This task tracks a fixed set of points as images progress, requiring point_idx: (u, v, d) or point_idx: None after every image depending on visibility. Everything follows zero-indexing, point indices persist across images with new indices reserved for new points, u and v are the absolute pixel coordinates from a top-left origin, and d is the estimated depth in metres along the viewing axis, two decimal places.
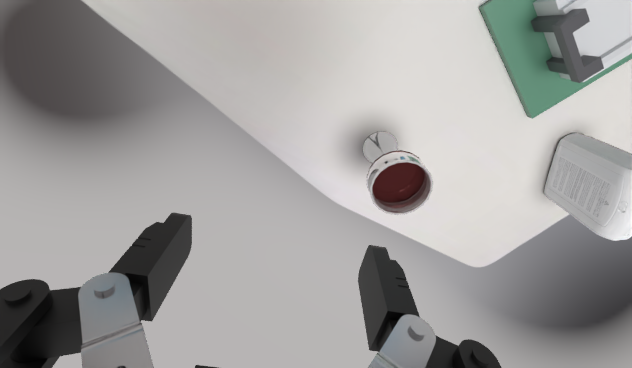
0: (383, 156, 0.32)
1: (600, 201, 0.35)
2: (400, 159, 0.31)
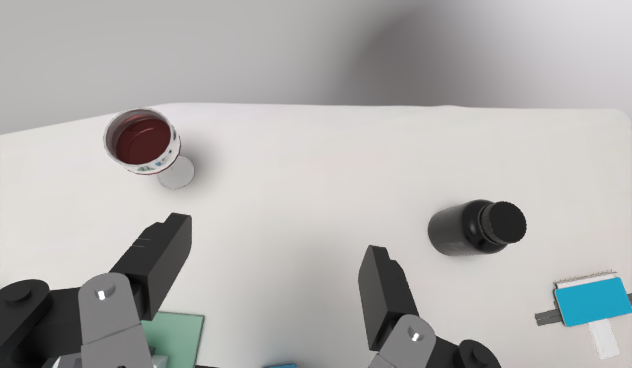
0: (178, 152, 0.33)
1: None
2: (163, 158, 0.31)
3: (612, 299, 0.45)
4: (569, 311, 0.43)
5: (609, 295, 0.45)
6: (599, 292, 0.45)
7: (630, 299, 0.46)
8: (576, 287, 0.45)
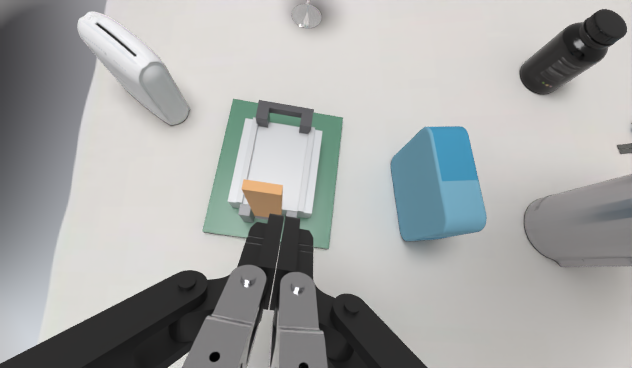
0: None
1: None
2: None
3: None
4: None
5: None
6: None
7: None
8: None
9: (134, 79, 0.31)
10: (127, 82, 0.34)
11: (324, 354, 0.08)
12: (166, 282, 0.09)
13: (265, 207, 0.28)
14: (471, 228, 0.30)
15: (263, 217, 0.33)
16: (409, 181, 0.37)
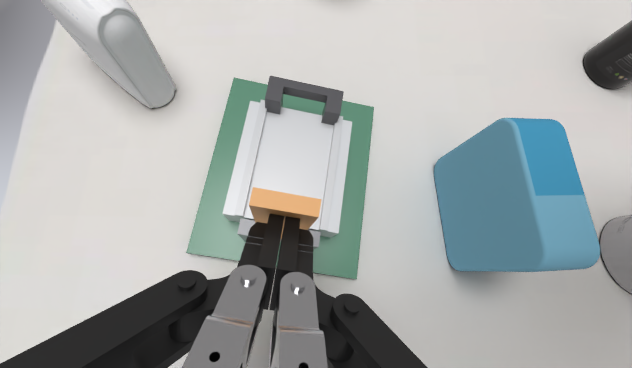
0: None
1: None
2: None
3: None
4: None
5: None
6: None
7: None
8: None
9: (90, 33, 0.21)
10: (85, 41, 0.24)
11: (324, 354, 0.08)
12: (166, 282, 0.09)
13: None
14: (578, 265, 0.21)
15: None
16: (468, 191, 0.28)
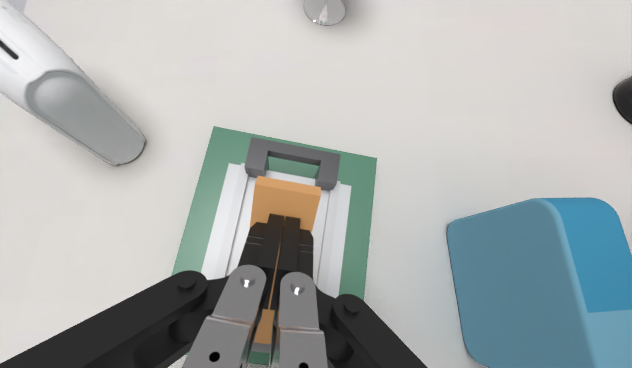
0: None
1: None
2: None
3: None
4: None
5: None
6: None
7: None
8: None
9: (17, 101, 0.17)
10: None
11: (324, 354, 0.08)
12: (166, 282, 0.09)
13: None
14: None
15: None
16: (491, 274, 0.23)
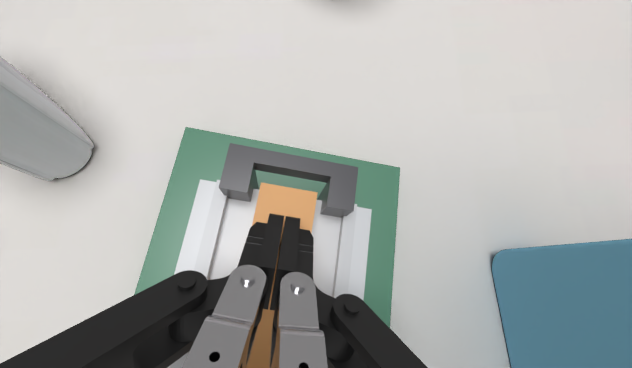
0: None
1: None
2: None
3: None
4: None
5: None
6: None
7: None
8: None
9: None
10: None
11: (324, 354, 0.08)
12: (166, 282, 0.09)
13: None
14: None
15: None
16: (571, 334, 0.16)
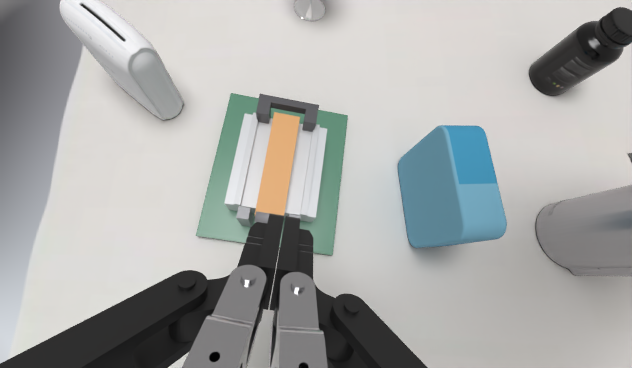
0: None
1: None
2: None
3: None
4: None
5: None
6: None
7: None
8: None
9: (122, 66, 0.28)
10: (115, 71, 0.31)
11: (324, 354, 0.08)
12: (166, 282, 0.09)
13: (279, 162, 0.32)
14: (490, 235, 0.28)
15: (265, 212, 0.31)
16: (419, 183, 0.35)
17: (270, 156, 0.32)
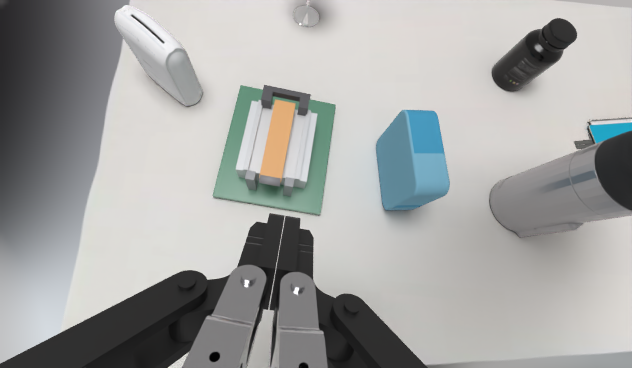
0: None
1: None
2: None
3: None
4: (600, 140, 0.56)
5: None
6: (623, 130, 0.58)
7: None
8: (605, 125, 0.58)
9: (161, 62, 0.37)
10: (153, 65, 0.40)
11: (324, 354, 0.08)
12: (166, 282, 0.09)
13: (278, 137, 0.41)
14: (437, 192, 0.37)
15: (267, 176, 0.40)
16: (390, 157, 0.44)
17: (271, 133, 0.41)
